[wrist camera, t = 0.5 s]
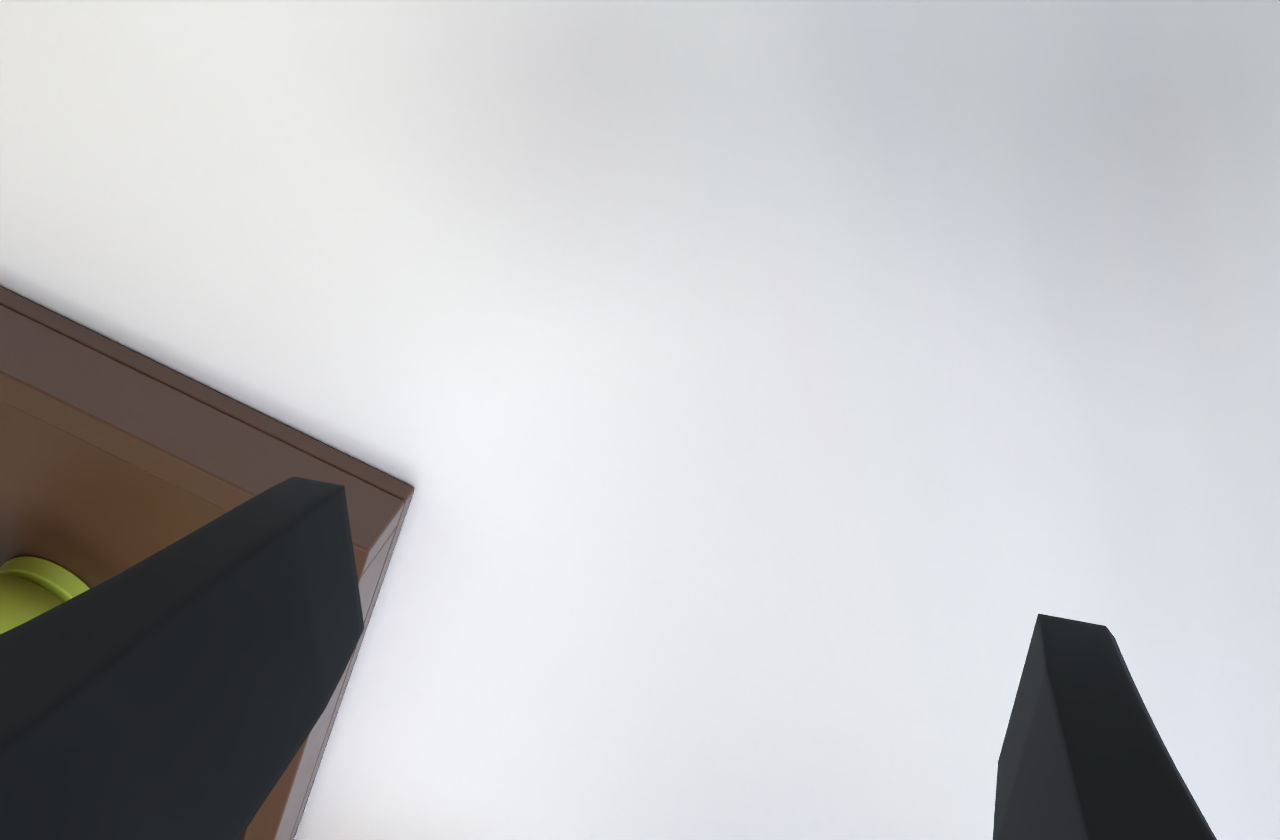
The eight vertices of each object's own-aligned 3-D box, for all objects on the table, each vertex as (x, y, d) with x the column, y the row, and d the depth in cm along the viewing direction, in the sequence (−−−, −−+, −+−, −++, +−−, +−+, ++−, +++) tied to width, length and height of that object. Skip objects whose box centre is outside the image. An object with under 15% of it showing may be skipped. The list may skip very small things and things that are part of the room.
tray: (276, 890, 36) (236, 957, 34) (-183, 666, 36) (-248, 721, 34) (416, 487, 26) (369, 551, 24) (-224, 176, 26) (-321, 216, 24)
